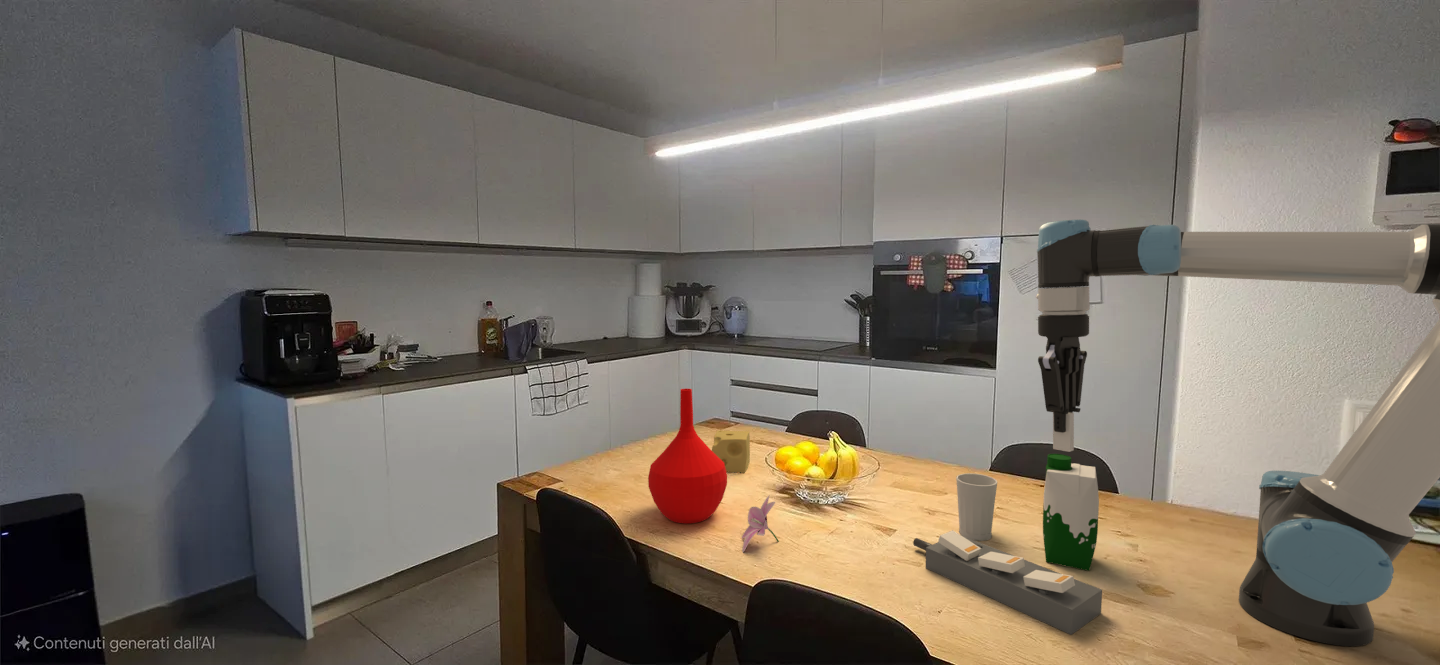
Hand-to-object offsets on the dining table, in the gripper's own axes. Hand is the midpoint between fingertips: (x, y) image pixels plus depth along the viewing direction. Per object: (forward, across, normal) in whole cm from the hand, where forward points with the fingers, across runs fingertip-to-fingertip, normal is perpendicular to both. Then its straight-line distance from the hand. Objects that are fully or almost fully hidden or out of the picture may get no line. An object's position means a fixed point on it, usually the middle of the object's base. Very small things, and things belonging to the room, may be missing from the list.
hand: (1063, 449), depth 101 cm
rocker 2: (+19, +10, -6) cm, 22 cm away
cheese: (+22, +5, -90) cm, 93 cm away
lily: (+23, +31, -46) cm, 60 cm away
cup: (+24, -8, -22) cm, 34 cm away
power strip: (+24, +8, -9) cm, 27 cm away
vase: (+22, +34, -68) cm, 79 cm away
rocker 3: (+19, +10, +2) cm, 22 cm away
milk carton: (+25, -12, -4) cm, 28 cm away
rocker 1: (+19, +10, -14) cm, 25 cm away
